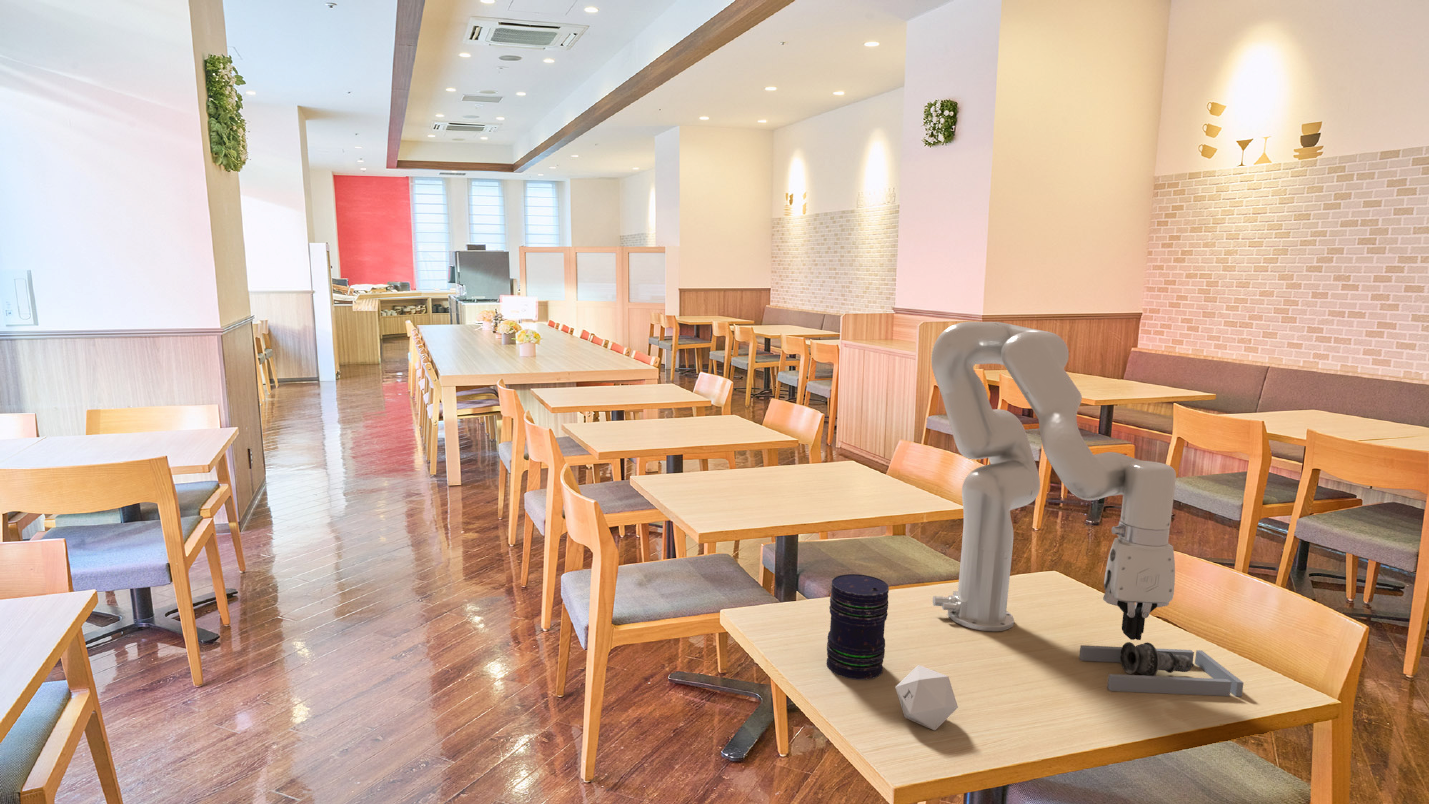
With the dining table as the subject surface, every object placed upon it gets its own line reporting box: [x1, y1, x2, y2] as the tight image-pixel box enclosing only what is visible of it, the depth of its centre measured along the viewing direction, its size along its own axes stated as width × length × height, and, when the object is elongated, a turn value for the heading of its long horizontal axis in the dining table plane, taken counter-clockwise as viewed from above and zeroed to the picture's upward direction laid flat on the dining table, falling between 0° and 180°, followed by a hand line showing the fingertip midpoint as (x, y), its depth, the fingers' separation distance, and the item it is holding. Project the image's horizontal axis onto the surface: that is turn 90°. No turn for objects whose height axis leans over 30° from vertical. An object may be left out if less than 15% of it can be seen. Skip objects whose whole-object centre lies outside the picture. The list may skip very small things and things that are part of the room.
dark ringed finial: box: [1120, 641, 1195, 676], centre depth 143 cm, size 6×6×12 cm
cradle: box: [1078, 644, 1244, 698], centre depth 143 cm, size 22×12×2 cm, turn 90°
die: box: [895, 664, 959, 731], centre depth 125 cm, size 8×9×10 cm
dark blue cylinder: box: [826, 573, 890, 681], centre depth 141 cm, size 10×10×15 cm
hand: (1131, 636), depth 142 cm, fingers closed
